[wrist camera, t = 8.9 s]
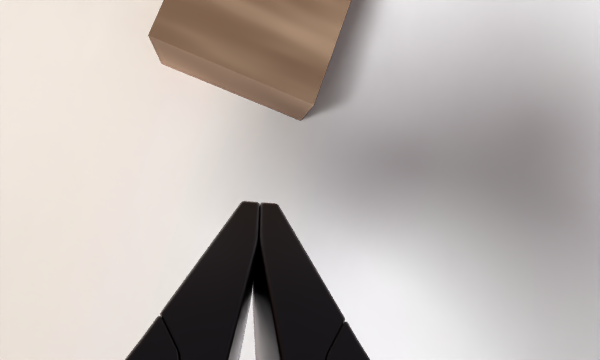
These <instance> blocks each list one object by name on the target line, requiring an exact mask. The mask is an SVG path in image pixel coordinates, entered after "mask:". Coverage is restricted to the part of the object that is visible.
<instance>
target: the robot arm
mask: <svg viewBox="0 0 600 360" xmlns="http://www.w3.org/2000/svg"><path fill="white" fill-rule="evenodd" d="M252 288H253V317H254V335H255V354H256V360H370V359H369V357H368V356H367V354H366V352H365V351H364V349H363V348H362V346H361V344H360V343H359V341H358V340H357V338H356V336H355V334H354V333H353V331H352V329H351V328H350V326H349V324H348V323H347V322H344V321H345V318H344V316H343V314H342V313H341V311H340V309H339V307H338V306H337V304H336V302H335V301H334V299H333V297H332V296H331V294H330V292H329V290H328V289H327V287H326V285H325V284H324V282H323V280H322V278H321V277H320V275H319V273H318V272H317V270H316V268H315V267H314V265H313V263H312V261H311V260H310V258H309V256H308V255H307V253H306V251H305V250H304V248H303V246H302V244H301V243H300V241H299V239H298V238H297V236H296V234H295V233H294V231H293V229H292V227H291V226H290V224H289V222H288V221H287V219H286V217H285V215H284V214H283V212H282V210H281V209H280V207H279V205H277V204H275V203H261V204H259V203H258V202H249V201H243V202H241V203H240V205H239V206H238V207H237V209H236V210H235V212H234V213H233V214H232V216H231V217H230V218H229V220H228V221H227V222H226V224H225V225H224V227H223V228H222V229H221V231H220V232H219V233H218V235H217V236H216V238H215V239H214V240H213V242H212V243H211V244H210V246H209V247H208V249H207V250H206V251H205V253H204V254H203V255H202V257H201V258H200V259H199V261H198V262H197V264H196V265H195V266H194V268H193V269H192V270H191V272H190V273H189V275H188V276H187V277H186V279H185V280H184V281H183V283H182V284H181V285H180V287H179V288H178V290H177V291H176V292H175V294H174V295H173V296H172V298H171V299H170V301H169V302H168V303H167V305H166V306H165V307H164V309H163V310H162V312H161V313H160V316H158V317H157V318H156V319H155V321H154V322H153V324H152V325H151V326H150V328H149V329H148V330H147V332H146V333H145V334H144V336H143V337H142V338H141V340H140V341H139V342H138V344H137V345H136V346H135V347H134V349H133V350H132V351H131V353H130V354H129V355H128V356H127V358H126V359H125V360H239V357H240V352H241V347H242V342H243V337H244V332H245V327H246V322H247V317H248V312H249V307H250V302H251V296H252Z"/></svg>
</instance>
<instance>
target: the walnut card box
mask: <svg viewBox="0 0 600 360" xmlns="http://www.w3.org/2000/svg"><path fill="white" fill-rule="evenodd" d="M350 2H351V0H164V1H163V3H162V5H161V8H160V10H159V12H158V14H157V17H156V19H155V21H154V23H153V26H152V28H151V30H150V32H149V35H148V36H149V38H150V40H151V42H152V44H153V46H154V49H155V51H156V53H157V55H158V57H159V59H160V61H161V63H162V64H163V65H166V66H168V67H171V68H173V69H176V70H178V71H181V72H183V73H185V74H188V75H190V76H193V77H195V78H198V79H200V80H203V81H205V82H207V83H210V84H212V85H215V86H217V87H220V88H222V89H225V90H227V91H229V92H232V93H234V94H237V95H239V96H242V97H244V98H247V99H249V100H251V101H254V102H256V103H259V104H261V105H264V106H266V107H268V108H271V109H273V110H276V111H278V112H281V113H283V114H286V115H288V116H290V117H293V118H295V119H298V120H300V121H301V120H302V119H303V117H304V116H305V115H306V114H307V113H308V112H309V110H310V109H311V108H312V107H313V106H314V104H315V101H316V98H317V95H318V92H319V90H320V87H321V84H322V81H323V78H324V76H325V73H326V70H327V67H328V64H329V61H330V59H331V56H332V53H333V50H334V47H335V45H336V42H337V39H338V36H339V33H340V31H341V28H342V25H343V22H344V19H345V16H346V14H347V11H348V8H349V5H350Z"/></svg>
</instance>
